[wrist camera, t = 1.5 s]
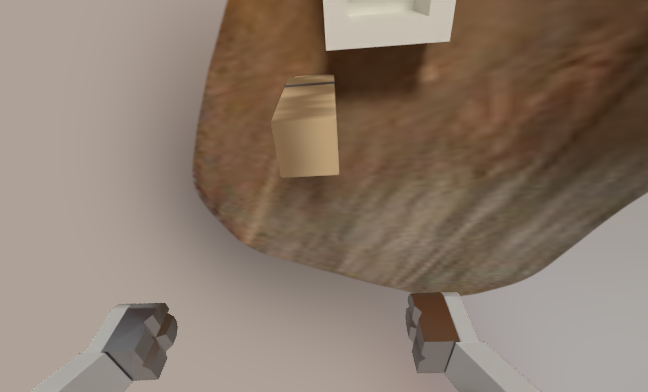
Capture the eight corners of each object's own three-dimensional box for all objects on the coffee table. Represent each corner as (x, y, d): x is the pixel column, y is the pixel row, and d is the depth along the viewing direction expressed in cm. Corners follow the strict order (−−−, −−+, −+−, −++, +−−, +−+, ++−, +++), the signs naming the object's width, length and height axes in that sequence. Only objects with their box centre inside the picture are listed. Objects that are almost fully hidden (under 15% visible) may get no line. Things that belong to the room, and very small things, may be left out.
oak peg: (333, 68, 28) (336, 117, 18) (335, 111, 30) (339, 174, 21) (290, 71, 28) (270, 122, 18) (295, 114, 31) (280, 178, 21)
